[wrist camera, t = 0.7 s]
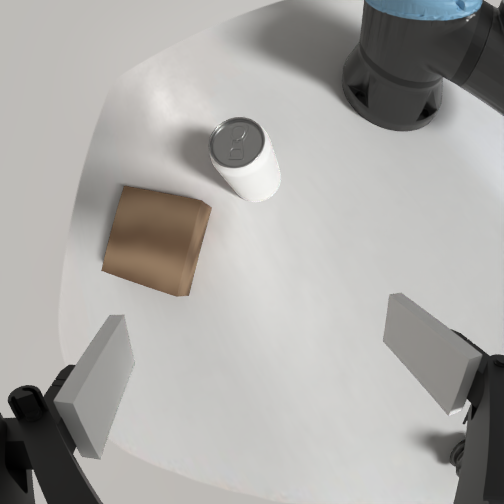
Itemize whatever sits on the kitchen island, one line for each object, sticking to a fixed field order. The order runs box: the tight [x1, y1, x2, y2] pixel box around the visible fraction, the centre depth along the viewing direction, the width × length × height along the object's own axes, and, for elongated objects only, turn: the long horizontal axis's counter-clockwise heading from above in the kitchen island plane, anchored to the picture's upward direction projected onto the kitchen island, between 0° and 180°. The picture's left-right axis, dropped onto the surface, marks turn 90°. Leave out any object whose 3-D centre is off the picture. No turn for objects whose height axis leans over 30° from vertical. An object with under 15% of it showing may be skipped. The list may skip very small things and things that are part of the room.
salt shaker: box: [450, 439, 466, 477], centre depth 26 cm, size 6×6×12 cm
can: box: [209, 117, 281, 202], centre depth 35 cm, size 6×6×12 cm
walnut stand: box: [102, 186, 211, 296], centre depth 41 cm, size 12×12×4 cm
